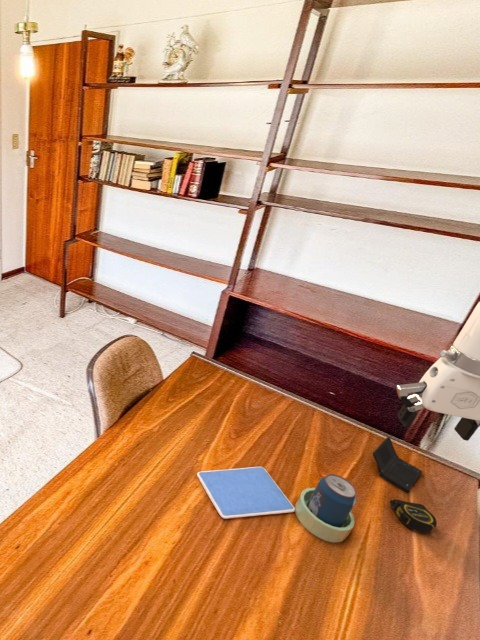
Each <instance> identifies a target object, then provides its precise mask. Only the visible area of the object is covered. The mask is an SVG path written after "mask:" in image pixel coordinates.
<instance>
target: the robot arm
mask: <svg viewBox="0 0 480 640" xmlns="http://www.w3.org/2000/svg"><path fill="white" fill-rule="evenodd" d="M439 355H440V357H439V359H437V360H436V361H435V362H434V363H433V364H432V365H431V366H430V367H429V368H428V370H427V371H426V372H425V373H424V374H423V376H422V377H421V378H420V380H419V381H418V382H414V383H413V382H412V383H406V384H397V385H396V387H395V388H396V393H397V397H398V398H399V400H400V401H401V402H402V406H401V408H400V409H399V411H398V412H397V414H396V415H397V419H398V420H399V422H400V423H401V424H402V426H403V427H404V428H410V427H411V425H412V424H413V422H414V420H415V419H416V417H417V416H418V413H417V411H419V410H422V409H426V410H428V411H431V412H435V413H439V414H444V415H449V416H453V417H457V418H460V419H459V421H458V422H457V423H456V425H455V426H454V428H453V430H454V431H455V433H457V435H458V436H460V439H462V440H463V441H467V442H468V441H469V440H470V439H471V438H472V436H473V435H474V434H475V433H476V431H477V430H478V429H479V427H480V301H478V303H477V304H476V306H475V307H474V309H473V310H472V312H471V313H470V315H469V317H468V319H467V320H466V322H465V324H464V325H463V327H462V329H461V330H460V331H459V333H458V335H457V336H456V338H455V340H454V342H453V343H452V345H451V346H450V347H449V349H442V350H440V353H439ZM412 393H413V394H412ZM409 394H412V395H409ZM415 402H416V403H415Z"/></svg>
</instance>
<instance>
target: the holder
mask: <svg viewBox="0 0 480 640" xmlns="http://www.w3.org/2000/svg"><path fill="white" fill-rule="evenodd" d="M315 489H316V487H306V488H304V489H303V490H302V491H301V493H300V495H299V497H298V498H297V500H296V503H295V505H294V508H295V511H294V512H295V513H294V514H295V516H296V518H297V520H298V521H299V522H300V524H301V525H302V526H303V527H304V528H305V529H306V530H307V531H308V532H309V533H310V534H312V535H314V536H315V537H316V538H319V539H321V540H323V541H326V542H329V543H336V544H337V543H341V542H343V541H345V540H346V539H347V538H348V536H349V534H350V533H351V531H352V530H353V528H354V526H355V516H354V515H353V512H352V510H351V511H350V513H349V514H348V516H347V518H346V519H345V521H344V522H343V524H342V526H341V527H340V528H339V527H334V526H331V525H329V524H327V523H324V522H323V521H321V520H320V519H318V518H317V517H316V516H315V515H314V514H313V513H311V511H310V510H309V509H308V507H307V506H306V505H307V503H308V501H309V500H310V498H311V496H312V494H313V492H314V490H315Z"/></svg>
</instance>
